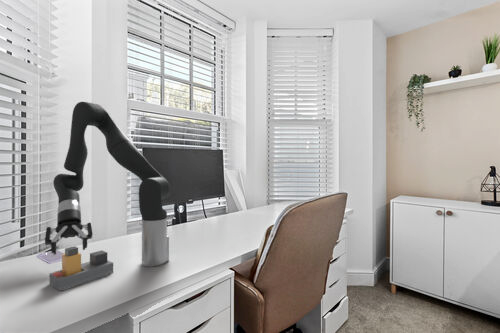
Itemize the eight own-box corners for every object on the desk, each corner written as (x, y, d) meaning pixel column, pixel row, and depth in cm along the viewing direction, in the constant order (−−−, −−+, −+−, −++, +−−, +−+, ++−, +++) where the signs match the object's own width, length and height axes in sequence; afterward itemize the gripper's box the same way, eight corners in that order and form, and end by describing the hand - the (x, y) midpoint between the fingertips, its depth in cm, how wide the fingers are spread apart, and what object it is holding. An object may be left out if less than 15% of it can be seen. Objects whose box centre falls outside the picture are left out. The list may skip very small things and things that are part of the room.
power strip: (101, 267, 94) (101, 248, 94) (113, 272, 89) (113, 252, 89) (49, 284, 81) (49, 262, 81) (59, 291, 76) (59, 268, 76)
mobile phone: (49, 262, 97) (35, 254, 106) (49, 264, 97) (35, 256, 106) (71, 256, 103) (57, 249, 112) (71, 258, 103) (57, 251, 112)
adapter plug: (76, 274, 85) (76, 245, 85) (81, 278, 83) (81, 247, 83) (62, 279, 82) (62, 248, 82) (66, 282, 79) (66, 251, 79)
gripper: (45, 210, 93) (43, 249, 84) (91, 206, 102) (93, 242, 92) (46, 221, 97) (44, 260, 88) (90, 217, 106) (92, 252, 97)
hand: (69, 251), depth 90 cm, fingers open, 8 cm apart
